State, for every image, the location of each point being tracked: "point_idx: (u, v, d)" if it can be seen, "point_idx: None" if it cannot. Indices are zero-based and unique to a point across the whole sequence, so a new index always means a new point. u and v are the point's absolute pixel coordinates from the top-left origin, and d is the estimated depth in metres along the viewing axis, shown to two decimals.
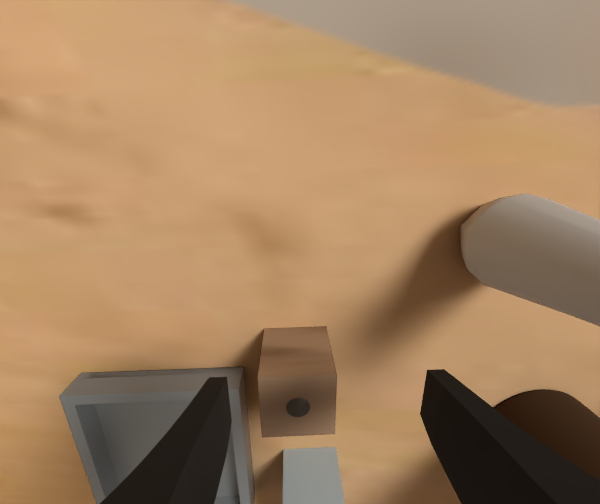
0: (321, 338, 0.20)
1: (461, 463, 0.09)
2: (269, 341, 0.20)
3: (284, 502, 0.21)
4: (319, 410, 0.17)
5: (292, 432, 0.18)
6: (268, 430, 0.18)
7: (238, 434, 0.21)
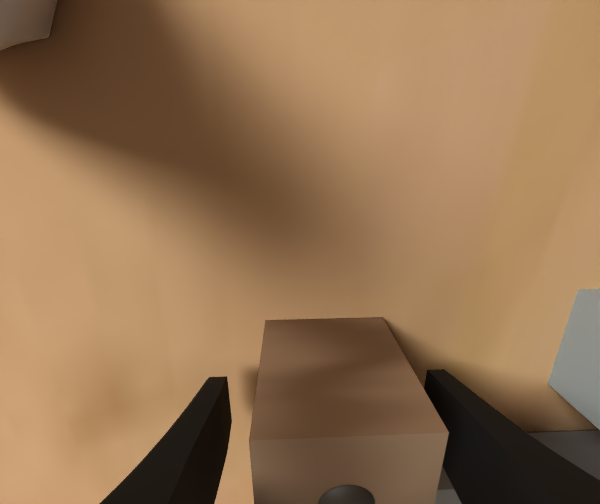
0: None
1: (460, 463, 0.09)
2: None
3: None
4: (361, 467, 0.07)
5: None
6: None
7: None
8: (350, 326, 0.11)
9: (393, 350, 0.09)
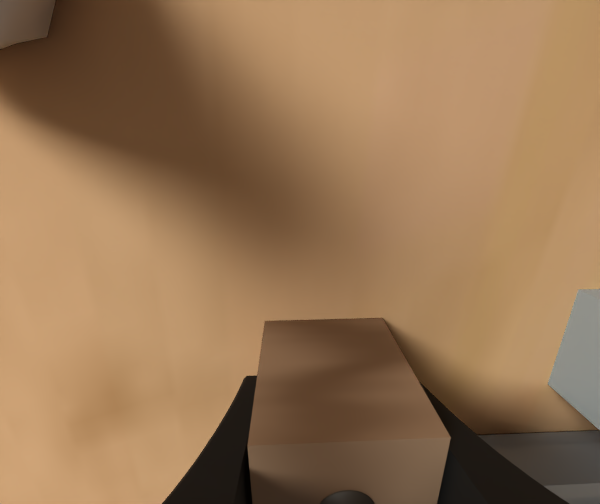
0: None
1: None
2: None
3: None
4: (361, 472, 0.07)
5: None
6: None
7: None
8: (350, 328, 0.11)
9: (394, 352, 0.09)
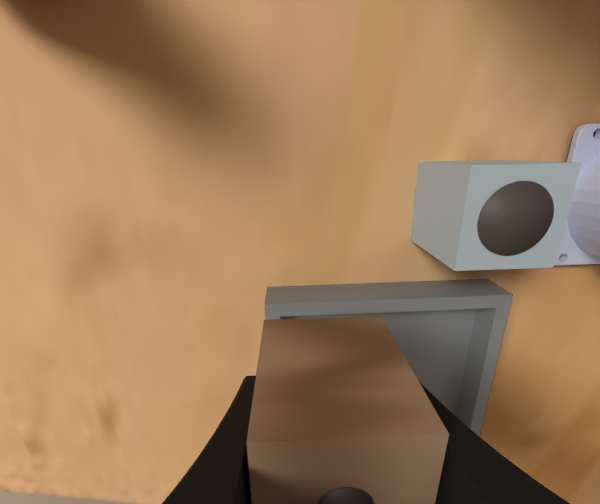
0: None
1: None
2: None
3: (444, 261, 0.14)
4: (360, 469, 0.07)
5: None
6: None
7: (339, 307, 0.16)
8: (349, 326, 0.11)
9: (393, 351, 0.09)
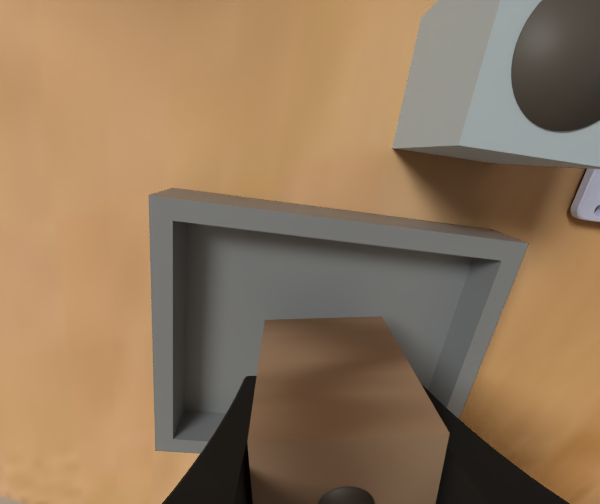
0: None
1: None
2: None
3: (442, 140, 0.08)
4: (361, 468, 0.07)
5: None
6: None
7: (268, 220, 0.10)
8: (350, 326, 0.11)
9: (393, 350, 0.09)
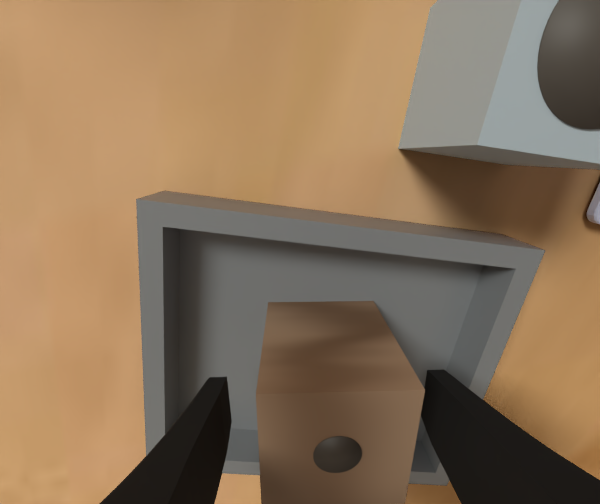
0: None
1: (461, 463, 0.09)
2: None
3: (457, 140, 0.07)
4: (351, 420, 0.08)
5: (402, 461, 0.09)
6: (389, 495, 0.09)
7: (266, 225, 0.10)
8: (344, 308, 0.12)
9: (382, 328, 0.11)
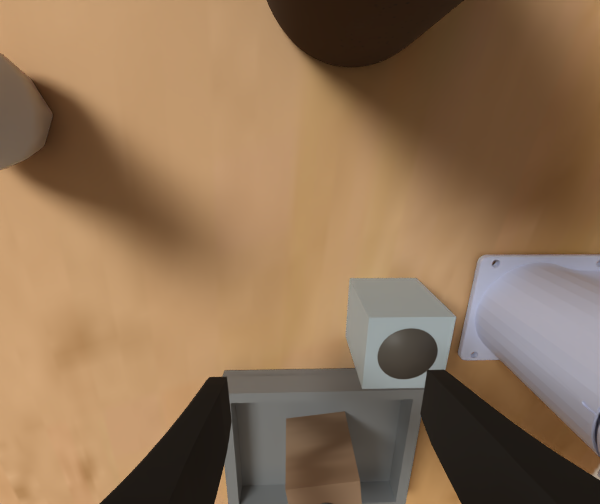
0: None
1: (461, 463, 0.09)
2: None
3: (358, 375, 0.17)
4: (329, 495, 0.18)
5: None
6: None
7: (280, 396, 0.20)
8: (328, 420, 0.22)
9: (346, 436, 0.20)
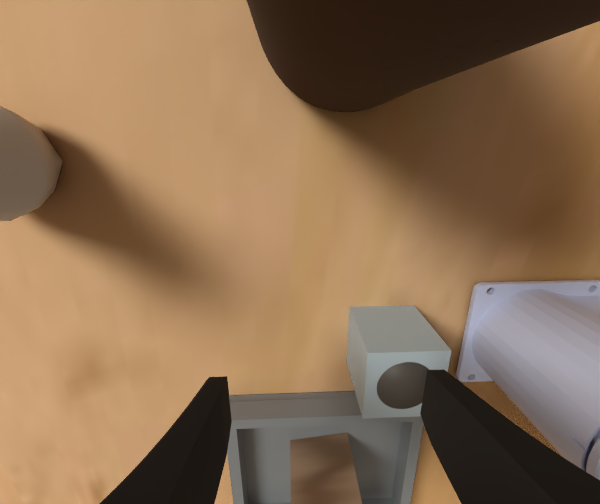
0: None
1: (460, 463, 0.09)
2: None
3: (359, 403, 0.18)
4: None
5: None
6: None
7: (284, 422, 0.20)
8: (330, 442, 0.22)
9: (349, 458, 0.21)
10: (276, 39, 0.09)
